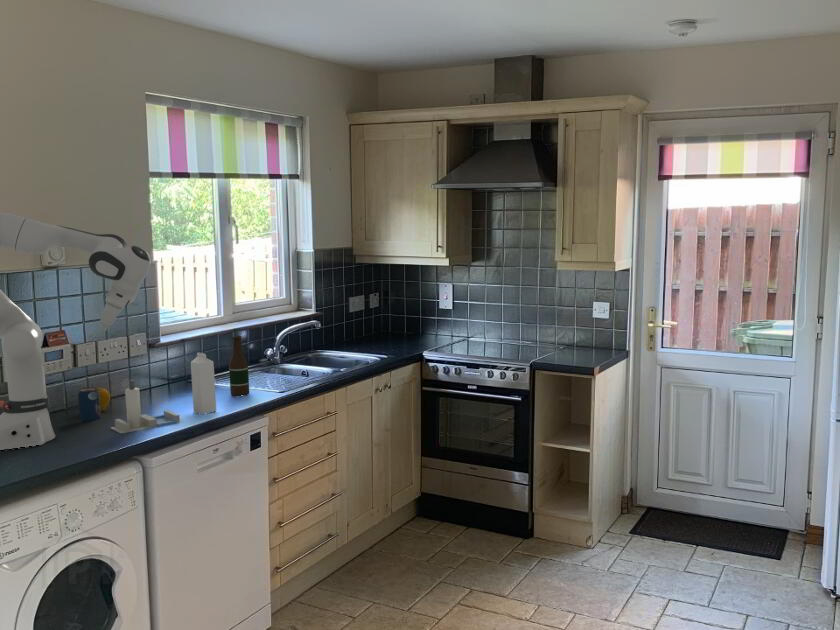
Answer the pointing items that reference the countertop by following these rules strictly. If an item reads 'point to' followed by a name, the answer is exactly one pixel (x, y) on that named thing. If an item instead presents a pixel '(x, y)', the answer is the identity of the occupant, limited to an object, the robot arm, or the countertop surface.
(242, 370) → the beer bottle
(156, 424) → the white ridged flat base
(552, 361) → the countertop surface
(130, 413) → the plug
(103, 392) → the yellow bell pepper
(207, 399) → the milk
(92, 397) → the soda can
